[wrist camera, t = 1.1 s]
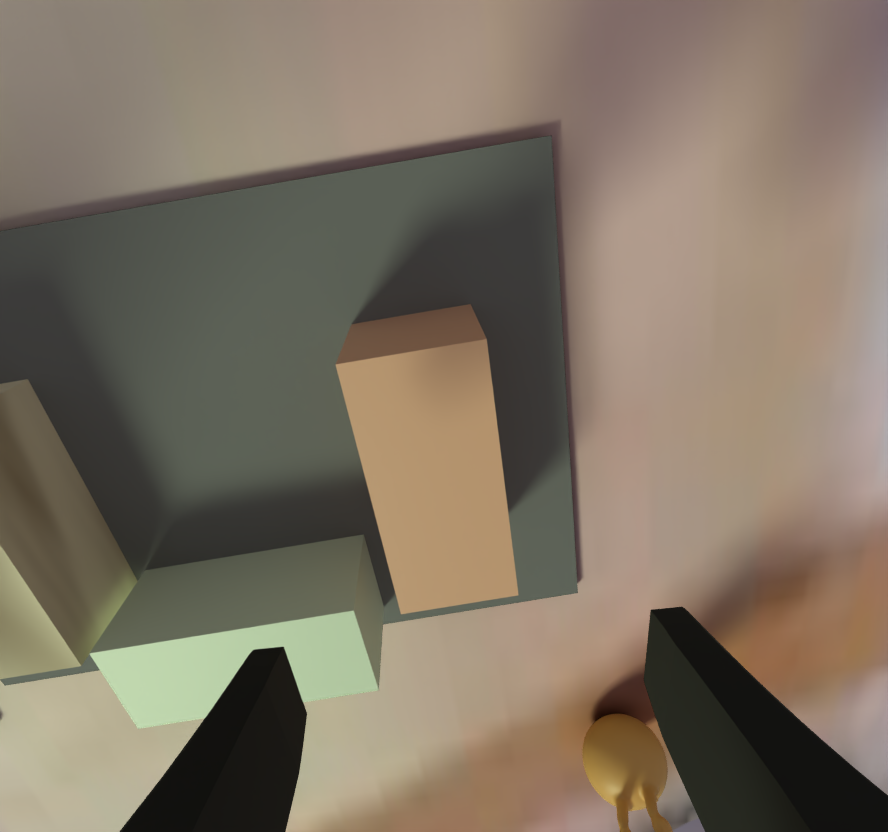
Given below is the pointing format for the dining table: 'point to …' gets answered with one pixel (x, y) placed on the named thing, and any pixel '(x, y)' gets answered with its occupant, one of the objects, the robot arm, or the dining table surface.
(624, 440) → the dining table surface
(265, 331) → the mat
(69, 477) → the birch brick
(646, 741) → the figurine
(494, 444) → the tan rectangular block
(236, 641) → the sage brick
